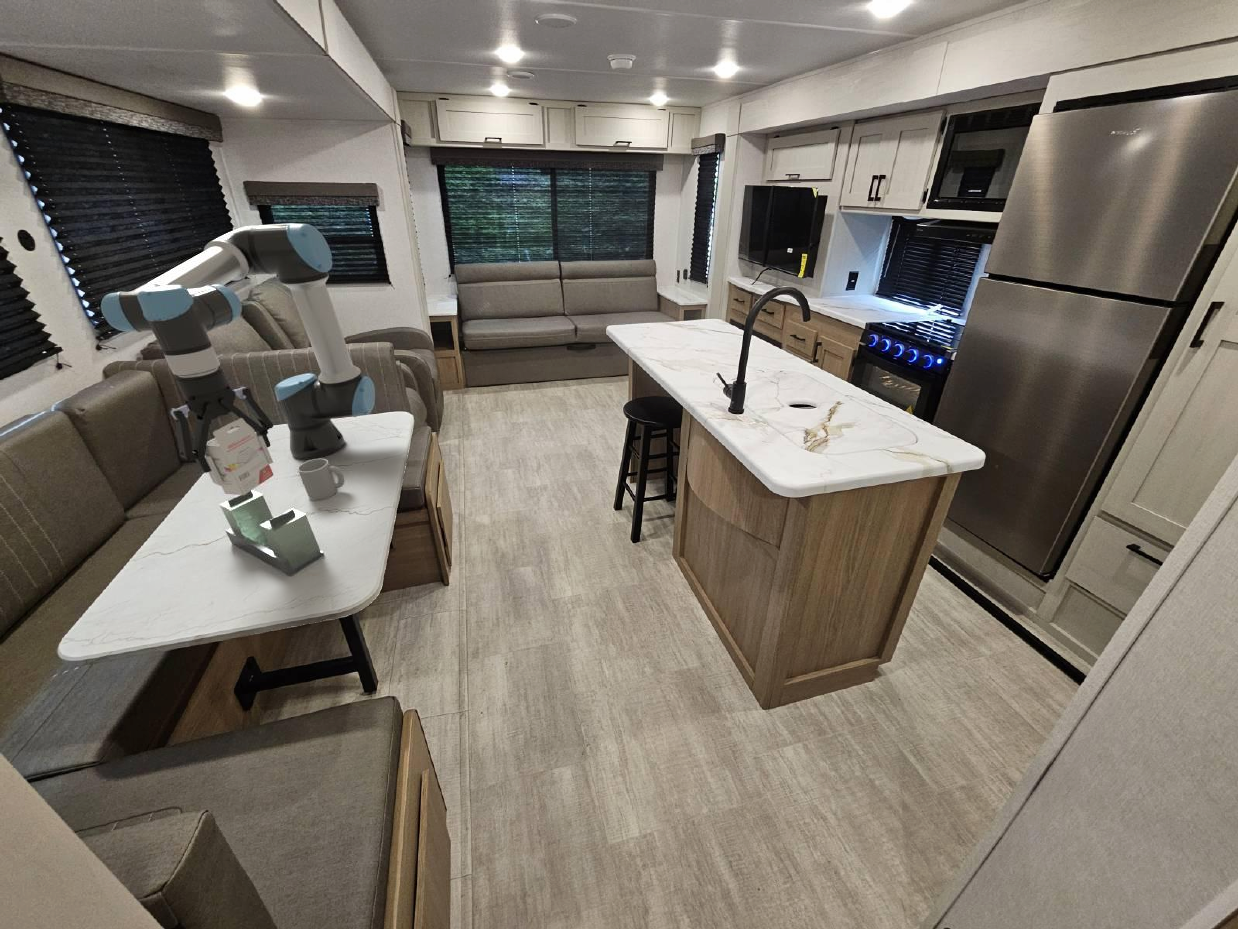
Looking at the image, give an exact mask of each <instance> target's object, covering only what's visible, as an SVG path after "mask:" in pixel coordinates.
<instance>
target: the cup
mask: <svg viewBox="0 0 1238 929" xmlns="http://www.w3.org/2000/svg"><path fill="white" fill-rule="evenodd" d="M297 471H298V472H297V473H298V474H299V476H300V479H301V481H302V485H303V486H304V488H305V492H306V494H307V496H308V498H309V499H310V500H312V501H322V500H327V499H329V498H332V497H333V496H334V495H336V494H337V492H338V489H340V488H341V487H343V486H344V485H345V475H344V473H343V471H342V470H341V469H340V468H339V467H337V466H334V465H330V464H329V460H328V459H325V458H314V459H308V460H307V461H305V462H303V463H301V464H300V465H298V467H297ZM334 474H335V475H336V477H337V481H336V480H335V477H334Z"/></svg>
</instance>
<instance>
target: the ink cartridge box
mask: <svg viewBox="0 0 1238 929" xmlns="http://www.w3.org/2000/svg"><path fill="white" fill-rule="evenodd" d="M212 434H213V436H214V438H212V439H210V440H207V445H206V452H205V454H206V455H209V456H211V458H212V460H213V463H214V465H215V467H216V469H217V471H218V473H219V475H220V477H221V479H222V481H223V483H224V484H223V485H221V488H222V490H223V492H224V494H226V495H234V496H237V495H245V494H246V493H248V492H249V491H251V490H254V489H256V488H257V487H258V486H260V485H261V484H263V483H264V482H266V481H267V480H269V479H270V478H272V477H273V476H274V473H273V471H272V467H271V466H270V464H269V463H268V461H267V458H266V456H265V454H264V451H263V449H262V447H261V444H260V442H259V440H258V438H257V435H256V432H255V431H254V429H253V428H252V427H251V426H250V425H248V424H247V423H246V422H245V421H244V419H243V418H240V419H236V420H233V421H231V422H230V423H227V424H225V425H224V426H222V427H220V428H218V429H215V430H214V431H213V432H212Z"/></svg>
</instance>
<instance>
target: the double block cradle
mask: <svg viewBox="0 0 1238 929" xmlns="http://www.w3.org/2000/svg"><path fill="white" fill-rule="evenodd" d="M219 507H220V509H221V510H222V512H223V514H224V516H225V518H226V521H227V522H228V524H229V526H230V528H229V527H228V528H227V529H225V530H224V532H225V533H226V535H227V537H228V538H229V541H230V543H231V544H232V545H233V546H235V547H236V548H239V549H241V550H242V551H244V552H245V553H248V554H249V555H251V556H253V557H254V558H256V559H257V560H259V561H262V562H264V563H265V564H267V565H269V566H271V567H272V568H274V569H276V570H278V571H279V572H281V573H283V574H285V575H286V576H289V577H292V576H293V575H295V574H297V573H298V572H300V571H302V570H304V568H307V567H308V566H310V565H311V564H313V563H314V562H316V561H318V560H319V559H321V558H322V557H324V556H325V553H324V551H322V550H321V549H320V546H319V544H318V541H317V539H316V536H315V534H314V531H313V529H312V526H311V524H310V521H309V519H308V517H307V514H306V513H305V512H301V511H299V510H297V509H294V508H291V509H288V510H286V511H285V512H282V513H281V514H278V515H276V516H274V517H273V515H272V512H271V510H270V509H269V505H268V503H267V502H266V499H265V497H264V495H263V494H262V493H260V492H257V491H255V490H254V489H252V490H251V491H249V492H248V493H246V494H245V495H234V496H233V497H231V498H228V499H226V501H223V502H221V503H219Z"/></svg>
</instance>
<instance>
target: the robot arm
mask: <svg viewBox="0 0 1238 929" xmlns="http://www.w3.org/2000/svg"><path fill="white" fill-rule="evenodd" d="M332 259H333V256H332V252H331V249H330V246H329V244H328V241H327V240H326V239H325V236H323V234H322V233H321V232H320V231H319V230H318V229H317V228H315V226H313V225H311V224H308V223H295V222H292V223H291V222H290V223H273V224H263V225H259V224H256V225H255V224H254V225H247V226H242V227H240V228H236V229H234V230H231V231H229V232H227V233H225V234H223V235H221V236H218V237H217V238H215V239H213V240H211V241H209V242H207V244H206V245H205V246H204V248H203V251H202V252H201V253H199V254H197V255H195V256H193V257H192V258H190V259H188V260H186V261H184V262H182V263H181V264H179V265H177V266H175V267H174V268H171V269H169V270H168V271H166V272H164V273H163V274H161V275H159V276H157V277H155V278H154V279H152V280H150V281H148V282H147V283H144V284H143V285H141V286H138V287H137V288H134V289H133V290H130V291H122V290H121V291H118V292H111V293H108V294H106V295H104V297H103V298H102V300H101V304H100V308H101V313H102V315H103V317H104V318H105V321H106V322H107V323H108V324H109V325H110V326H111V327H112V328H114V329H116V330H117V331H121V332H126V333H127V332H137V333H143V332H153V334H154V337H155V338H156V340H157V342H158V344H159V346H160V349H161V352H162V353H163V355H164V358H165V360H166V362H167V364H168V367H169V368H170V371H171V373H172V374H173V375H176V377H175V381H176V384H177V386H178V387H179V389H180V391H181V394H182V396H183V398H184V400H185V402H184V405H182V406H180V407H177V408H172V407H171V408H170V409H169V410H168V413H169V414H170V416H171V417H172V419H173V421H174V425H175V426H174V427H175V433H176V438H177V445H178V449H179V451H178V452H179V456H180V457H181V458H183V459H185V460H188V461H191V460H195V461H196V464H197V465H198V467H199V469H200V471H202V473H205V474H209V475H208V476H209V477H210V479H211V481H212V483H213V484H215V485H217V486H219V487H220V486H221V485H223V484H224V483H223V481H222V479H221V477H220V475H219V473H218V471H217V469H216V467H215V465H214V463H213V460H212V458H211V456H209V455H206V454H205V452H206V445H207V442H208V438H209V430H210V425H211V424H212V420H215V419H218V418H219V417H221V416H227V415H229V414H230V415H231V416H233V417H234V418H235V419H236V420H238V419H240V418H243V419H244V421H245V422H246V423H247V424H248V425H250V426H251V427H252V428H253V429H254V431H255V433H256V435H257V438H258V440H259V442H260V444H261V447H262V449H263V451H264V454H265V456H266V458H267V461H268V463H269V465H270V464H273V463H274V461H273V458H272V456H271V454H270V451H269V449H268V448H270V447H271V442H270V440H269V437H268V434H269V430H270V429H273V428H274V424H273V422H272V420H270V418H269V417H268V415H267V414H266V413H265V412H264V410H263V409H262V408H261V406H259V405H258V403H257V402H256V400H255V399H254V397H253V393H252V390H251V389H250V388H249V387H245V386H241V385H240V386H239V387H238V388H236V389H232V388H231V387H230V384H229V381H228V379H227V376H226V375H225V372H224V369H223V368H221V367H220V366H221V362H220V360H219V358H218V355H217V353H216V351H215V349H214V347H213V345H212V342H211V340H210V338H209V335H208V332H210V331H213V330H215V329H218V328H221V327H222V326H225V325H226V326H227V325H229V324H231V322H234V321H235V320H237V319H238V318H239V317H240V315H241V314H242V311H243V310H242V309H243V307H242V301H241V300H240V298H239V296H238V295H237V294H236V293H235V292H234V291H233V290H232V289H231V288H229V287H227V286H226V284H227V283H229V282H231V281H234V282H235V281H241V280H243V279H244V278H246V277H249V276H257V275H277V276H278V280H279V282H280V284H281V285H283V286H285V287H287V288H288V289H289V290H290V293H291V295H292V298H293V301H294V302H295V306H296V309H297V312H298V313H299V316H300V319H301V321H302V322H301V323H302V324H303V327H304V330H305V332H306V335H307V338H308V340H309V343H310V345H311V349H312V351H313V354H314V356H315V358H316V361H317V364H318V366H319V369H320V373H319V375H318V377H317V375H316V374H315V373H312V372H311V373H310V372H309V373H302V374H298V375H294V376H292V377H289V378H286V379H284V380H282V381H280V382H279V383H277V384H276V385H275V387H274V392H275V396H276V400H277V402H278V404H279V408H280V409H281V412H282V414H283V417H284V420H285V423H286V424H287V426H288V427H287V428H288V429H289V450H290V452H291V455H292V457H293V458H295V459H298V460H313V459H320V458H323V457H326V456H329V455H332V454H334V453H336V452H338V451H340V449H342V448H343V447H344V446H345V443H346V441H345V438H344V436H343V434H342V432H341V431H340V430H339V428H337V426H336V425H335V423H333V422H332V421H333V420H331V419H333V418H336V419H337V418H351V417H352V418H357V417H363V416H367V415H369V414H370V413H372V411H373V408H374V406H375V402H376V389H375V385H374V382H373V380H372V379H371V378H370V377H369V376H363V374H362V371H361V369H360V367H358V366H356V365H354V364H353V361H352V358H351V356H350V353H349V349H348V346H347V343H346V340H345V338H344V335H343V332H342V329H341V326H340V323H339V321H338V317H337V315H336V312H335V308H334V306H333V303H332V299H331V297H330V294H329V291H328V288H327V285H326V283H327V281H328V279H329V278H330V276H329V271H330V270H331V269H332V268H333V260H332ZM236 397H237V398H238V399H241V401H242V402H243V403H244V405H245V406H246V407H247V408H248V410H249V411H250V413H251V414H252V415H253V416H254V417H255V419H256V420H257V421H258V422H259V423H258V422H256V421H254V420H253V419H252V418H250V417H249V416H248V415H247V414H245V413H244V412H243V411H242V410H240V409H239V408H238V407H237V406H236V405H234V402H235V399H236ZM189 412H192V413H194V414H195V418H194V419H195V428H194V429H195V430H194V433H193V434H194V436H193V442H192V440H191V433H190V426H189V421H188V419H187V418H189ZM221 487H222V486H221Z"/></svg>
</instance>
